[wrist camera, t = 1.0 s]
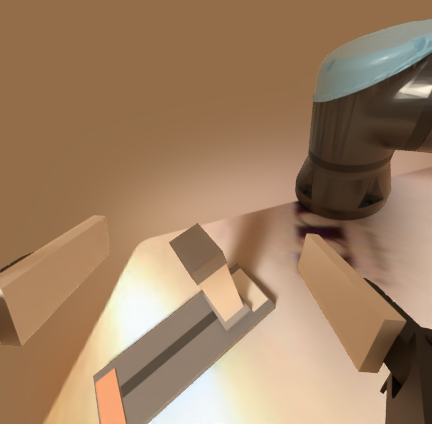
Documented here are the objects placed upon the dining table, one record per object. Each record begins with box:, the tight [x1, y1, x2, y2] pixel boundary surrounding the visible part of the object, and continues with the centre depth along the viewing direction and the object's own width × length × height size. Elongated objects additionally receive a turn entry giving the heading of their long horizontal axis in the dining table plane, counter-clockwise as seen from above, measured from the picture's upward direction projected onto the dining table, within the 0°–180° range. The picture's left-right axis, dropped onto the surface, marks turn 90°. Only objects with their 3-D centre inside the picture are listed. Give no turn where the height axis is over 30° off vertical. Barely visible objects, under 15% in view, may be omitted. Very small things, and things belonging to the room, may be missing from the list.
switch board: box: [93, 263, 275, 424], centre depth 27 cm, size 24×8×2 cm, turn 125°
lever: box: [169, 223, 251, 332], centre depth 23 cm, size 4×6×14 cm
